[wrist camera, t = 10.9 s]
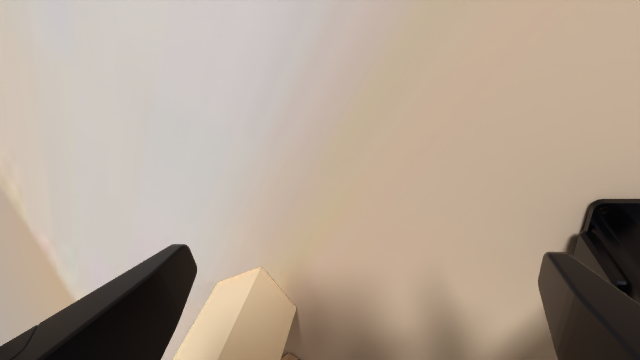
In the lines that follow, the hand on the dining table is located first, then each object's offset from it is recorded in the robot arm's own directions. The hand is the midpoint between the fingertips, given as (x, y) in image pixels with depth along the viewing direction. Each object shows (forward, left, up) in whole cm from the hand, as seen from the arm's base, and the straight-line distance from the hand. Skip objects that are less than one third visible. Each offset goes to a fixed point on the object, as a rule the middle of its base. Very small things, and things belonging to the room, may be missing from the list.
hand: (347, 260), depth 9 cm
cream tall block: (+11, +17, -13) cm, 24 cm away
